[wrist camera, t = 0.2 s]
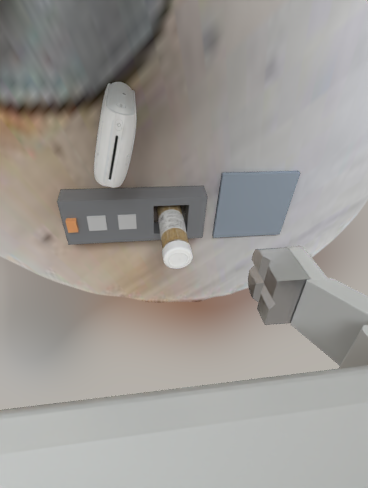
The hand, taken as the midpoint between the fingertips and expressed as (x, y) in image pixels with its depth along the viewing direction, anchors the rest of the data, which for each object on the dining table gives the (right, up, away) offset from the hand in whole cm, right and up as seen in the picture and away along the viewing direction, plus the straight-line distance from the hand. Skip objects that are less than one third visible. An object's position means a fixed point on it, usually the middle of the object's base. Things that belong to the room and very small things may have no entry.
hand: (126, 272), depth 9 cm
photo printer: (-8, +19, +35) cm, 40 cm away
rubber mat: (+15, +8, +49) cm, 51 cm away
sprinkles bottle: (-1, +8, +46) cm, 47 cm away
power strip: (-7, +7, +45) cm, 47 cm away
